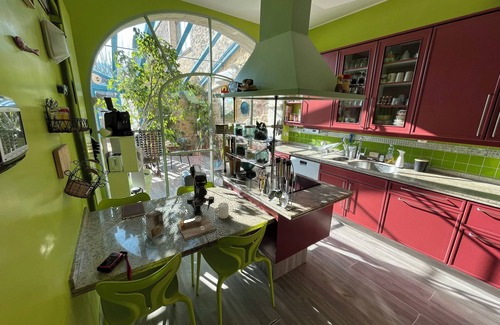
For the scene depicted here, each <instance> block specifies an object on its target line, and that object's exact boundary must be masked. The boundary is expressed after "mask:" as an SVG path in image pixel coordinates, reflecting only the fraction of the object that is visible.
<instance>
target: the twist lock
mask: <svg viewBox="0 0 500 325" xmlns="http://www.w3.org/2000/svg"><path fill="white" fill-rule="evenodd" d="M201 217H202V216H201V215H195V216H194V217H193V218H191V219H190V218H189V219H186V220H181V221H180V223H179V224H181V228H183V227H185V226H188V225H191V224H194V223H195V224H200V223H201Z"/></svg>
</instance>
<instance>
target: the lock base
mask: <svg viewBox="0 0 500 325" xmlns="http://www.w3.org/2000/svg"><path fill="white" fill-rule="evenodd" d="M176 226H177V229H178V230H179V232H180V233H181V235H182V237H183V239H184V241H187V240H190V239H192V238H195V237H199V236H201V235H205V234H208V233H210V232H214V231H216V227H215V225H213V223H212V222H211V221H210V220H209V219H208V217H206V216H201V223H200V224H195V223H194V224H191V225H188V226H185V227H183V228H181V224H180V223H178V224H176Z"/></svg>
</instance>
